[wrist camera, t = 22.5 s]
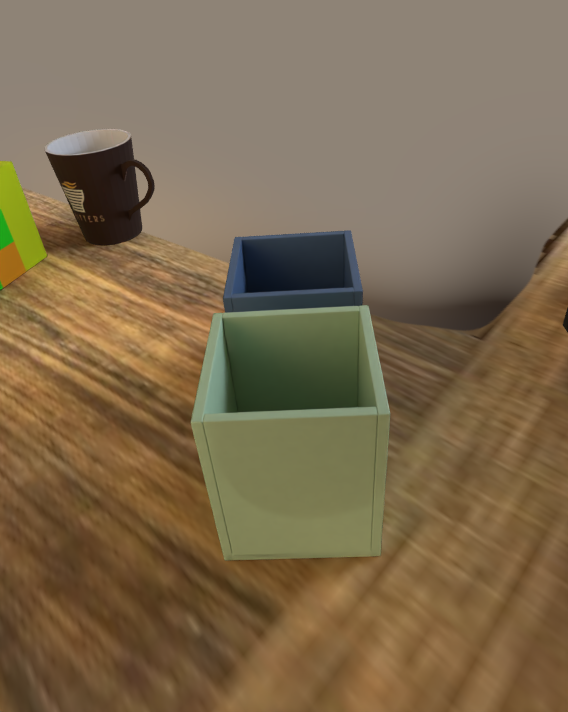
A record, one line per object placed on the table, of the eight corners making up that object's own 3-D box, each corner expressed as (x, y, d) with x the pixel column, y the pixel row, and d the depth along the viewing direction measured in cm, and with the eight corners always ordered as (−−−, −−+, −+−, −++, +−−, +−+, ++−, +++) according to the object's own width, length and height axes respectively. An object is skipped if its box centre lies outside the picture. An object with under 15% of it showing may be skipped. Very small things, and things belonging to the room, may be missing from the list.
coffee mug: (66, 230, 63) (36, 141, 57) (136, 210, 66) (115, 124, 60) (95, 268, 55) (63, 169, 49) (174, 243, 58) (154, 147, 52)
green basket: (364, 440, 34) (368, 304, 28) (380, 556, 27) (390, 414, 21) (236, 445, 34) (213, 312, 28) (224, 561, 28) (190, 422, 22)
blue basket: (350, 336, 42) (350, 229, 37) (360, 407, 36) (362, 290, 31) (248, 341, 43) (234, 237, 37) (241, 412, 37) (222, 298, 31)
